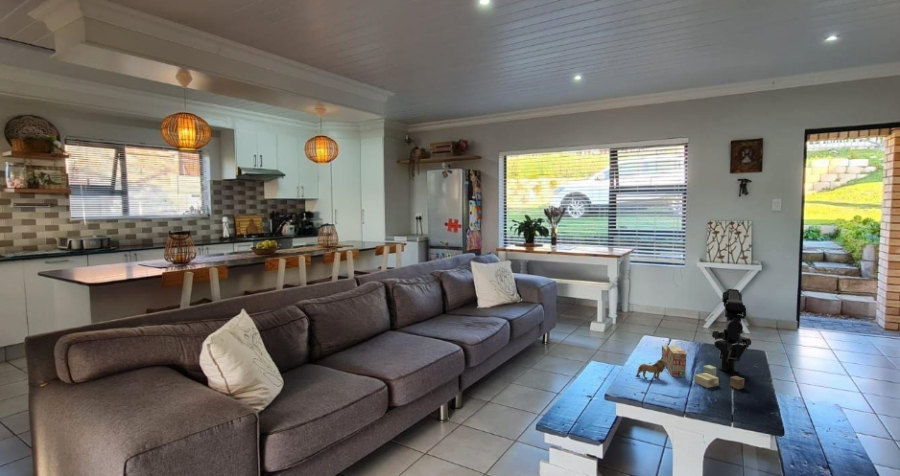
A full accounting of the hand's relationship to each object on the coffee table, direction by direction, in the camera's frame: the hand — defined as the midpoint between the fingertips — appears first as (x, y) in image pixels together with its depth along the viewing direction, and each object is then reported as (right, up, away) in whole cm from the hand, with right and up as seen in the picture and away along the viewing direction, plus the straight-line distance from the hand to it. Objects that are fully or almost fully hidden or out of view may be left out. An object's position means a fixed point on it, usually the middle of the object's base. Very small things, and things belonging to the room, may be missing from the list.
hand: (732, 360), depth 213 cm
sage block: (-3, -11, +14) cm, 18 cm away
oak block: (-10, -12, +3) cm, 16 cm away
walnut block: (+2, -12, 0) cm, 13 cm away
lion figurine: (-33, -12, +11) cm, 37 cm away
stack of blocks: (-17, -11, +22) cm, 30 cm away
